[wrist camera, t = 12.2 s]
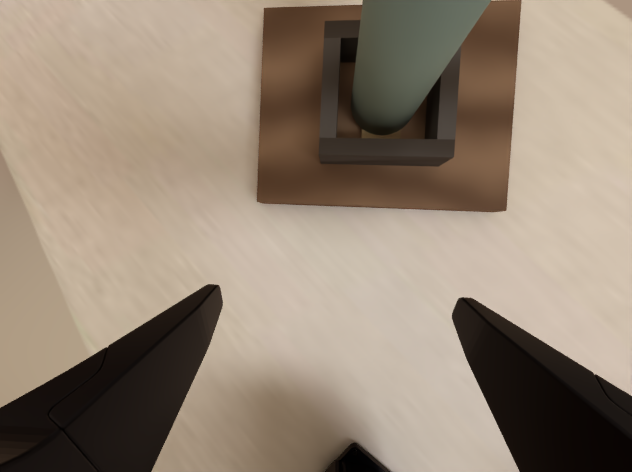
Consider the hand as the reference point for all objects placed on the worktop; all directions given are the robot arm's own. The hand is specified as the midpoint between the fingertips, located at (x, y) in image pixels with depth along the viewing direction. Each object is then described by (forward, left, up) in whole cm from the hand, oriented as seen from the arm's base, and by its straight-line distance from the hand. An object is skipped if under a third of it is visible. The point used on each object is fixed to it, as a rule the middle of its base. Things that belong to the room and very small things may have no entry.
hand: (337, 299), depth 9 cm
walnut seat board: (+5, -12, -12) cm, 18 cm away
